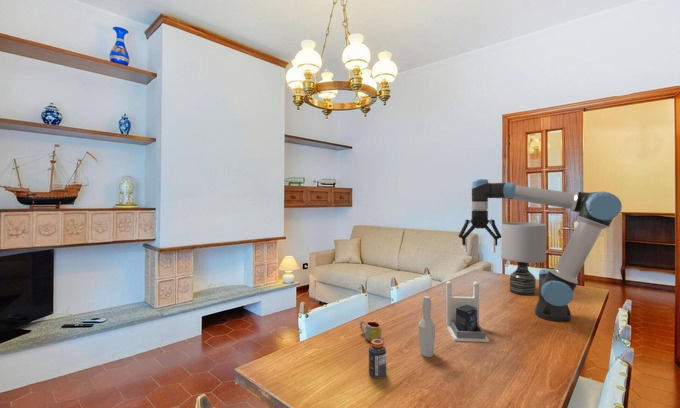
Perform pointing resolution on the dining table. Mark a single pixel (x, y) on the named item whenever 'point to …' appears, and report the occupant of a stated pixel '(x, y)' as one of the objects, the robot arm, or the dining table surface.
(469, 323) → the box
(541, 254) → the lamp
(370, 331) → the mug
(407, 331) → the dining table surface
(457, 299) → the white l-bracket
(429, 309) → the low poly bottle
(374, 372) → the pill bottle
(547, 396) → the dining table surface
